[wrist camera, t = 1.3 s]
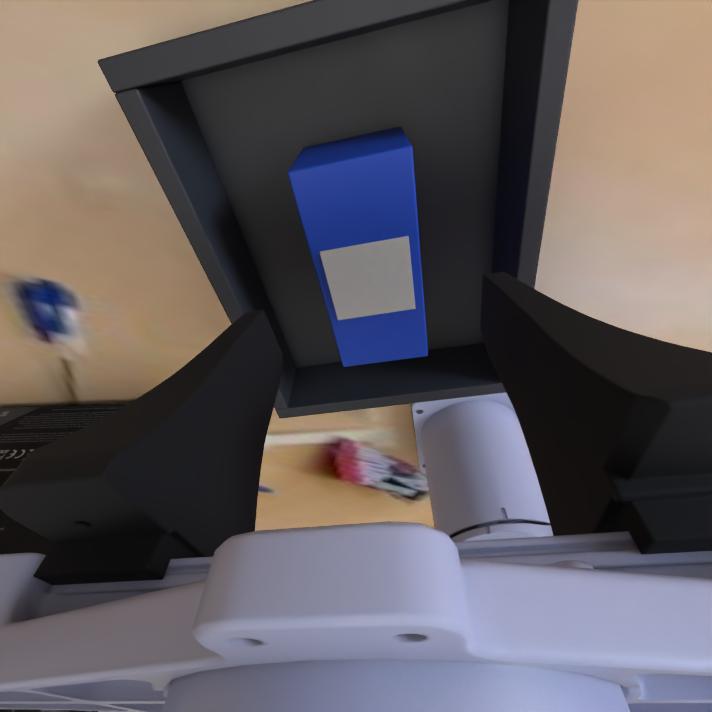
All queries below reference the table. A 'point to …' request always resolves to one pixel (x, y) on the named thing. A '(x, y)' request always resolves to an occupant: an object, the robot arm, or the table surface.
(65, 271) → the table surface
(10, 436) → the graphics card box
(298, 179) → the blue box
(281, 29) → the desk bin
